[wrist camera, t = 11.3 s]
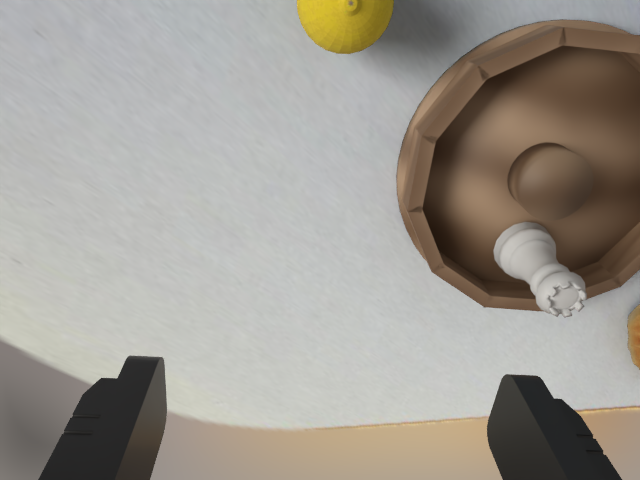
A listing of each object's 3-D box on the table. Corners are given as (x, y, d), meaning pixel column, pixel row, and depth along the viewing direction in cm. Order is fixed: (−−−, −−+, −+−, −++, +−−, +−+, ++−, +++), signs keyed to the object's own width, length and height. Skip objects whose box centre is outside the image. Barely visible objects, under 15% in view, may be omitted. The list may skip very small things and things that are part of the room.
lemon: (400, -12, 33) (427, -14, 26) (350, 64, 35) (362, 82, 28) (329, -68, 31) (336, -86, 24) (281, 14, 33) (275, 20, 26)
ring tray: (425, 2, 33) (438, 3, 30) (729, 37, 35) (771, 41, 32) (377, 282, 42) (382, 305, 39) (620, 300, 44) (644, 324, 41)
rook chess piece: (524, 208, 39) (574, 257, 31) (560, 242, 40) (616, 297, 33) (479, 248, 40) (517, 305, 33) (516, 280, 41) (560, 341, 34)
